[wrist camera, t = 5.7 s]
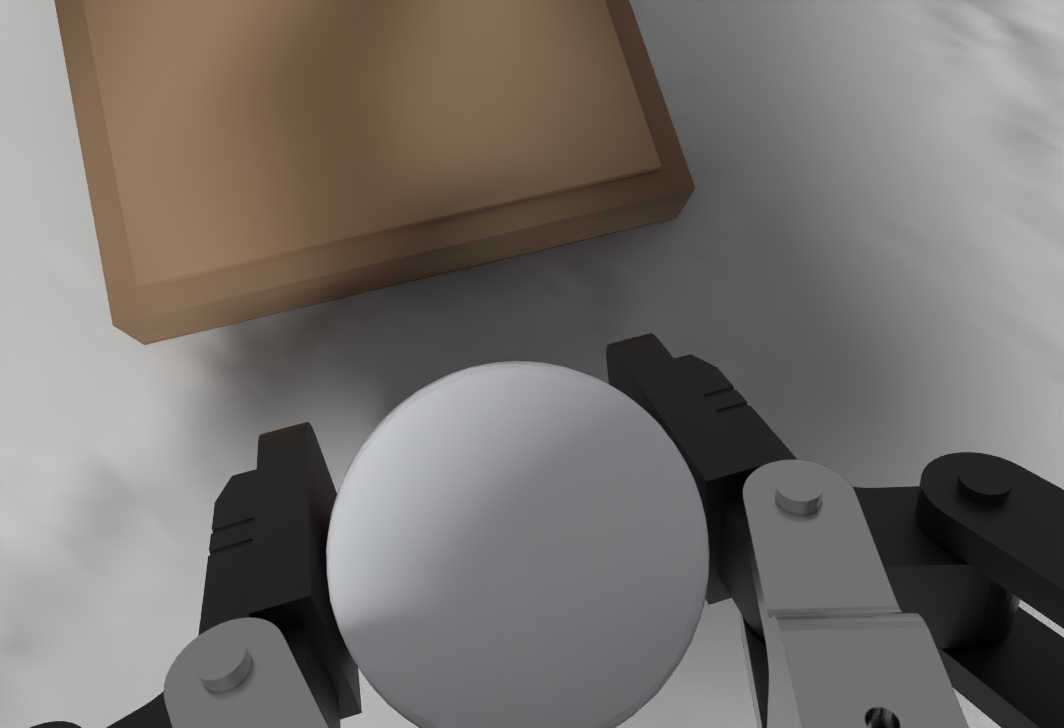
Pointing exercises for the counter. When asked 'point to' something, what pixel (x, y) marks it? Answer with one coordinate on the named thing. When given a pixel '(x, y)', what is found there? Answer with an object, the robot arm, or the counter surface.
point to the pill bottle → (517, 552)
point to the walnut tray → (353, 144)
